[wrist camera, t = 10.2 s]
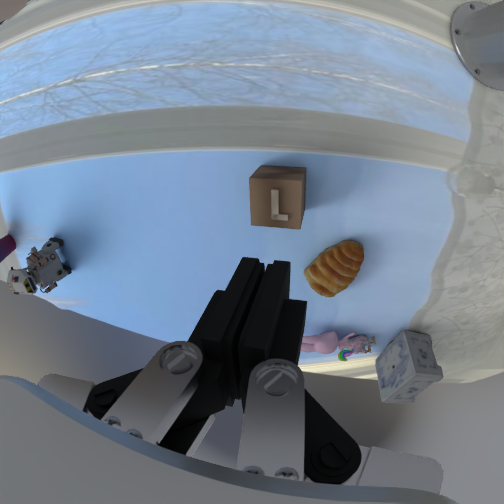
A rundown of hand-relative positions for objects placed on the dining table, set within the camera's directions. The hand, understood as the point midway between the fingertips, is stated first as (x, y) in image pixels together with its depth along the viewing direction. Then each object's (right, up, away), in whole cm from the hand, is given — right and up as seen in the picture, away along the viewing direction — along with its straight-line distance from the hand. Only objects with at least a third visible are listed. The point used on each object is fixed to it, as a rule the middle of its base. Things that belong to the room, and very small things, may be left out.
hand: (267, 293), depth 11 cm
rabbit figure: (+14, -13, +40) cm, 44 cm away
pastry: (+12, 0, +32) cm, 34 cm away
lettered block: (+4, +10, +28) cm, 30 cm away
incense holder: (+28, -16, +37) cm, 49 cm away
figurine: (-47, +1, +49) cm, 68 cm away
